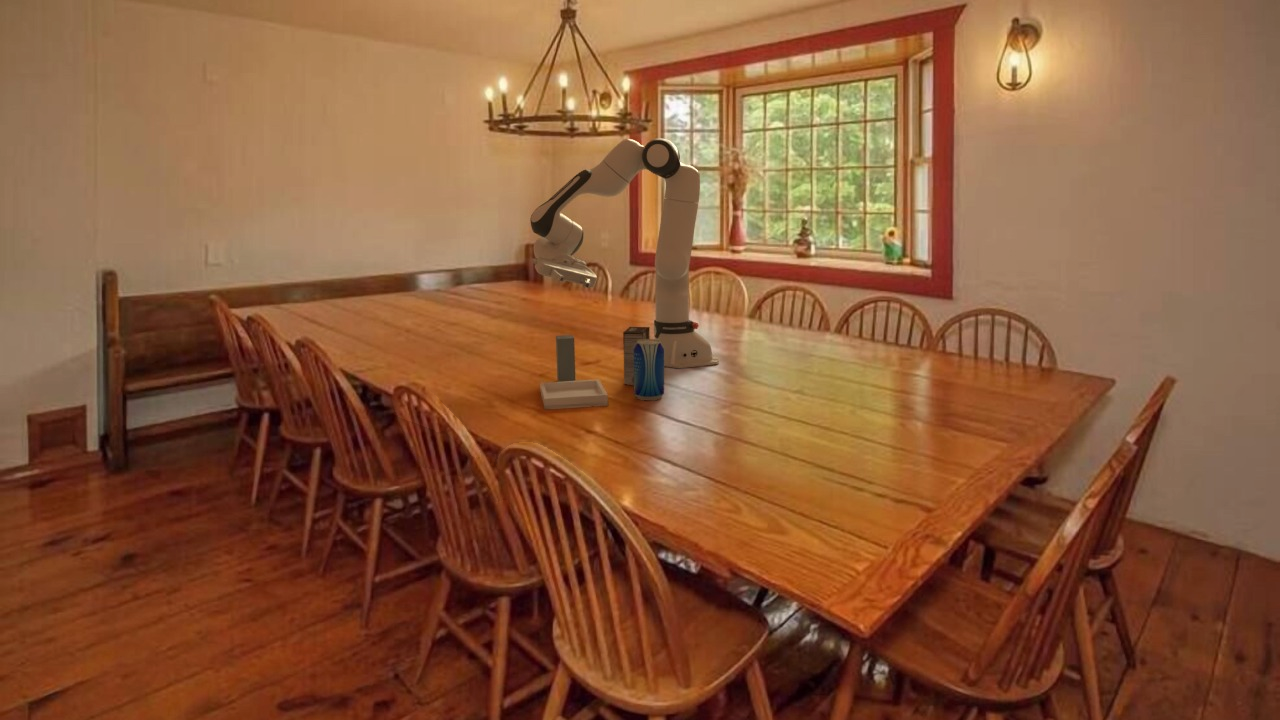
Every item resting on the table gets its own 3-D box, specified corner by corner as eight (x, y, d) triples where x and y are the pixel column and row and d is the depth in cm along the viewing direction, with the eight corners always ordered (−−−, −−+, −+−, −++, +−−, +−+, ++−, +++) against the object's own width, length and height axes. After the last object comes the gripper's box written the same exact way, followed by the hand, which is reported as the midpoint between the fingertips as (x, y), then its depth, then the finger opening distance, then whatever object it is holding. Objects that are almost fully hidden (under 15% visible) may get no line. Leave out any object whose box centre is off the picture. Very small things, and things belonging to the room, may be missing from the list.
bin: (599, 389, 229) (598, 379, 228) (608, 405, 212) (607, 394, 212) (540, 392, 226) (540, 382, 225) (544, 409, 209) (544, 398, 209)
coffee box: (630, 377, 242) (629, 326, 238) (650, 378, 241) (650, 326, 237) (623, 384, 233) (622, 331, 230) (644, 385, 232) (644, 332, 228)
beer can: (633, 393, 224) (632, 338, 220) (662, 392, 224) (662, 338, 221) (635, 402, 215) (634, 345, 212) (665, 401, 216) (665, 344, 213)
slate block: (573, 379, 240) (572, 334, 237) (575, 383, 235) (574, 338, 232) (557, 380, 239) (555, 335, 236) (558, 384, 234) (557, 338, 231)
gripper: (533, 248, 245) (548, 265, 234) (589, 263, 256) (606, 280, 245) (526, 266, 247) (541, 284, 236) (582, 280, 258) (598, 298, 247)
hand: (574, 282), depth 241 cm, fingers open, 8 cm apart
